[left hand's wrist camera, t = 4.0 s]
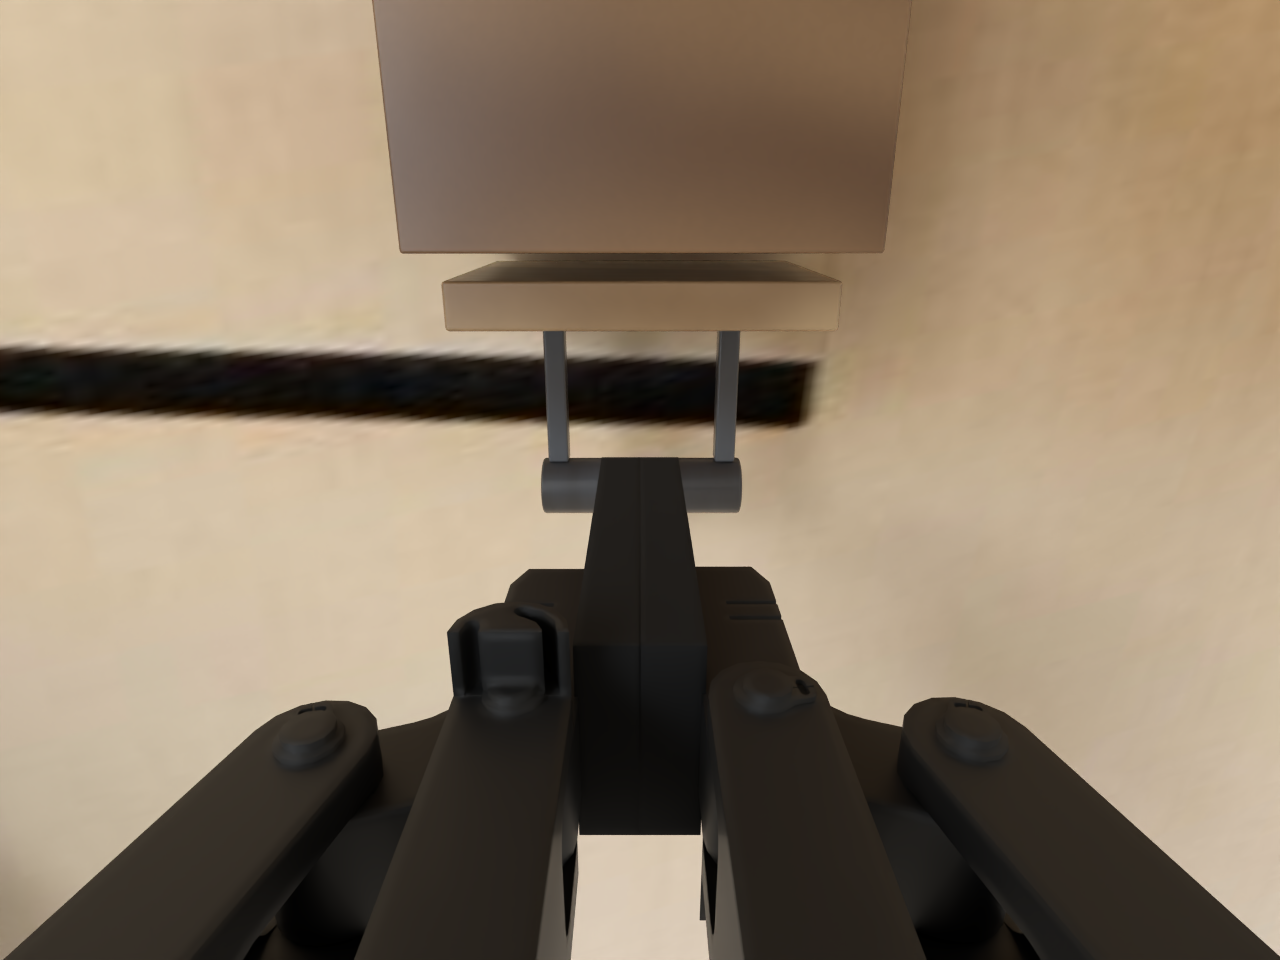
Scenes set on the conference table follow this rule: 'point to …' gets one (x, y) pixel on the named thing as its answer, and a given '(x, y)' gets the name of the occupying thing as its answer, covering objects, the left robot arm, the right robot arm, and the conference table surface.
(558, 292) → the drawer
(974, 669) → the conference table surface
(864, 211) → the cabinet
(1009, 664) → the conference table surface
